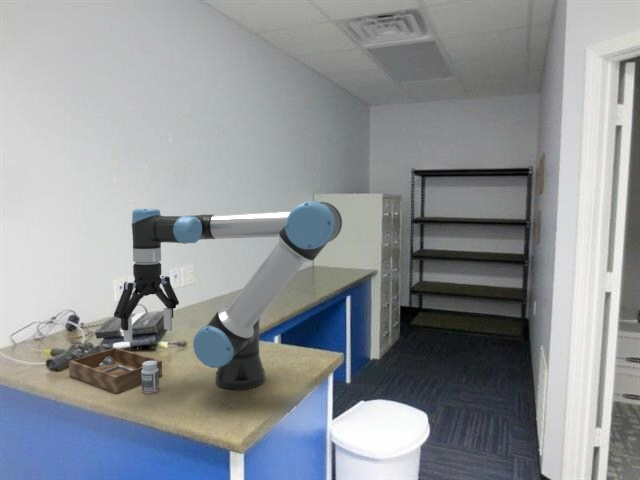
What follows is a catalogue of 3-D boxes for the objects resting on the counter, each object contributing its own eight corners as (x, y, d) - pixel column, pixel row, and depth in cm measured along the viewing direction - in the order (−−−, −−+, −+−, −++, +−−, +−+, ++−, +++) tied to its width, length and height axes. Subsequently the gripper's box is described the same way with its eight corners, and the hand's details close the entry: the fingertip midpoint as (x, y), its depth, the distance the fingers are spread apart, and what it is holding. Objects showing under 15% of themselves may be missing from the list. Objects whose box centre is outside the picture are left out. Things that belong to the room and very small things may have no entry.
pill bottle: (153, 385, 134) (153, 358, 133) (162, 390, 131) (161, 362, 130) (138, 390, 130) (137, 363, 130) (147, 395, 127) (146, 366, 127)
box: (162, 376, 141) (161, 360, 141) (116, 394, 128) (115, 377, 127) (115, 361, 154) (115, 347, 154) (69, 376, 140) (68, 361, 140)
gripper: (173, 257, 140) (174, 323, 142) (98, 266, 119) (100, 344, 121) (190, 259, 136) (191, 327, 138) (115, 268, 115) (117, 349, 117)
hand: (148, 335), depth 129 cm, fingers open, 13 cm apart
